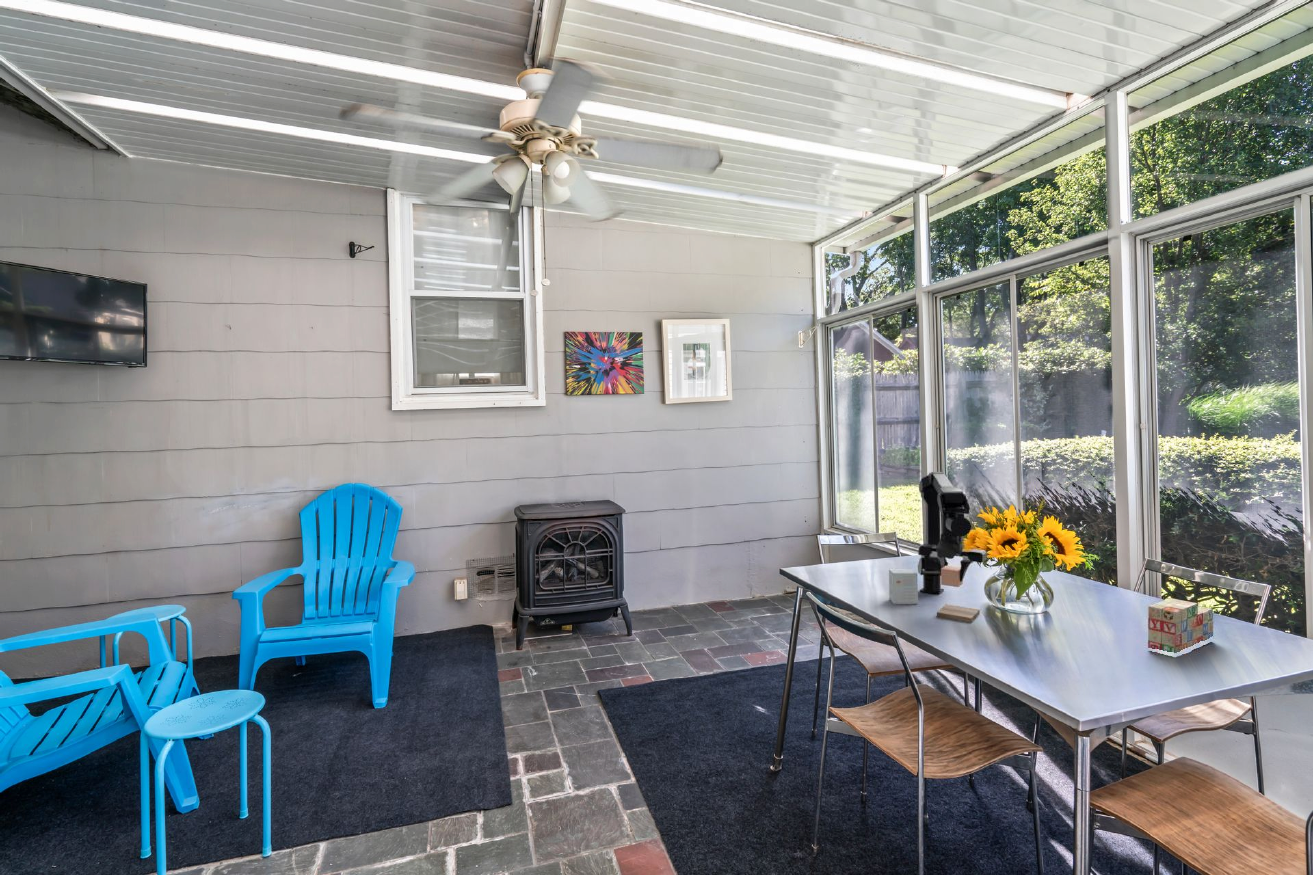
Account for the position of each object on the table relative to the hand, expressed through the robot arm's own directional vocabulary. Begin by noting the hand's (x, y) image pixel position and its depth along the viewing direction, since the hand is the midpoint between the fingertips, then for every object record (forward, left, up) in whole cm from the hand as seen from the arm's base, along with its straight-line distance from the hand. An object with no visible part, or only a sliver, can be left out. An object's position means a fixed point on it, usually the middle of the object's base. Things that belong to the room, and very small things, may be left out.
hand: (952, 580), depth 202 cm
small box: (-6, -17, -11) cm, 21 cm away
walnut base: (-1, +2, -12) cm, 12 cm away
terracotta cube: (0, 0, -1) cm, 1 cm away
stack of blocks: (-7, +55, -11) cm, 57 cm away
